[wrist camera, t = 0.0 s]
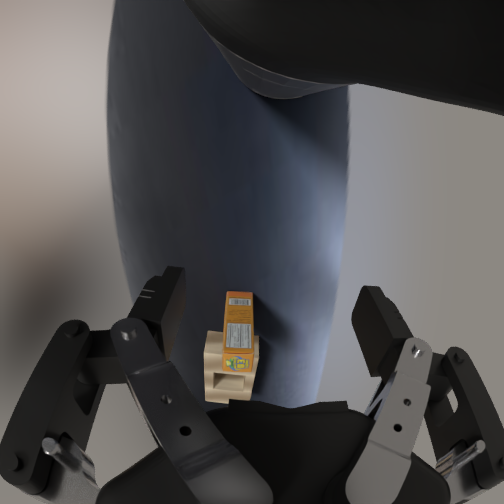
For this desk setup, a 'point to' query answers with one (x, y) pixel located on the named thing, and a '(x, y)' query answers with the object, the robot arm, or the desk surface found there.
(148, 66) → the desk surface
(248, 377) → the socket block
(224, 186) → the desk surface
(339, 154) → the desk surface
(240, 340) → the supplement box
